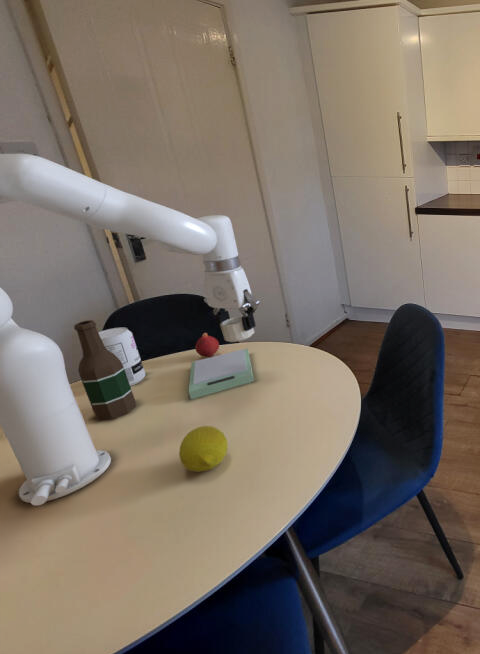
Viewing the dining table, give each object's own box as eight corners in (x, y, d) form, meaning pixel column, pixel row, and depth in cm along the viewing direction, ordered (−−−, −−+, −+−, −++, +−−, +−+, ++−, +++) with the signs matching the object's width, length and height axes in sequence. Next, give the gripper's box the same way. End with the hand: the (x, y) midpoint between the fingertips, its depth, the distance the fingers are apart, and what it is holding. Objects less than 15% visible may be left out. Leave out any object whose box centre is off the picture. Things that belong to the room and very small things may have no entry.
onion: (209, 362, 124) (203, 338, 122) (193, 361, 125) (187, 337, 123) (226, 353, 130) (220, 330, 127) (210, 351, 131) (204, 328, 128)
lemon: (231, 472, 83) (222, 438, 80) (182, 489, 79) (171, 455, 76) (231, 440, 91) (222, 410, 89) (187, 455, 87) (177, 423, 85)
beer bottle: (86, 418, 100) (50, 328, 92) (122, 399, 107) (91, 314, 99) (110, 423, 98) (75, 331, 90) (145, 403, 105) (115, 317, 98)
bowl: (255, 337, 110) (249, 320, 109) (225, 345, 107) (219, 328, 106) (254, 329, 116) (249, 313, 115) (226, 337, 113) (220, 320, 111)
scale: (253, 381, 114) (251, 372, 113) (190, 399, 106) (187, 389, 105) (249, 355, 128) (247, 346, 127) (193, 369, 121) (190, 360, 120)
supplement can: (99, 387, 112) (80, 338, 108) (133, 372, 120) (117, 324, 115) (120, 392, 110) (101, 341, 105) (153, 376, 117) (137, 328, 113)
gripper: (180, 267, 104) (198, 331, 109) (239, 270, 100) (254, 336, 106) (207, 259, 111) (222, 319, 116) (263, 261, 107) (276, 324, 113)
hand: (237, 327), depth 111 cm, fingers closed on bowl, 7 cm apart
